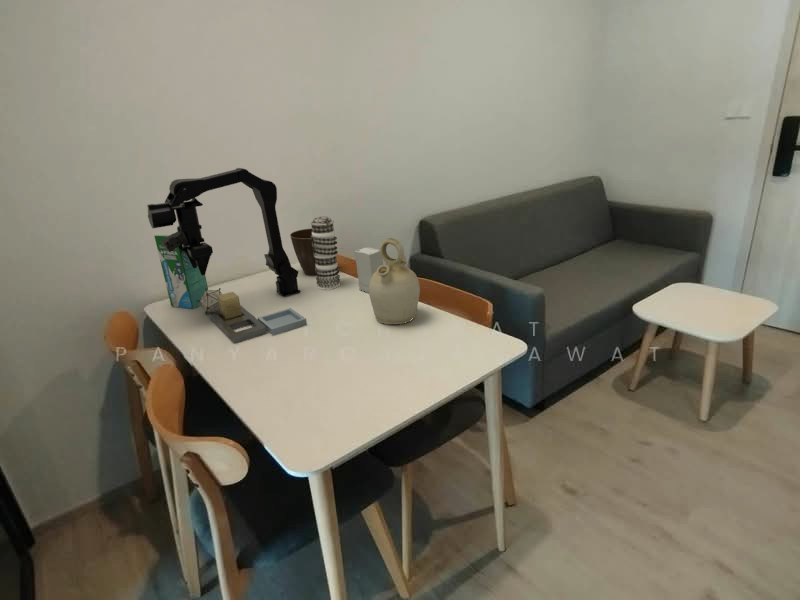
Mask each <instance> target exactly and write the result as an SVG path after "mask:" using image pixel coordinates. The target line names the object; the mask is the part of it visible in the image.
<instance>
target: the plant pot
mask: <svg viewBox="0 0 800 600" xmlns="http://www.w3.org/2000/svg"><path fill="white" fill-rule="evenodd" d="M311 234H312V228H305V229H304V228H303V229H299V230H296V231H293V232H291V233H290V234H289V236H290V240H291V243H292V246H293V250H294V252H295V253H294V254H295V255H296V258H297V261H298V263H299V266H300V268H301V269H302V271H303V273H304V275H307V276H317V275H316V271H315V268H316V260H315V257H314V254H313V253H314V251H312V248H313V247H312V243H313V242H312V241H311V238H312V237H310V235H311ZM313 240H314V239H313ZM314 250H315V249H314Z"/></svg>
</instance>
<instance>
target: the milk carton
mask: <svg viewBox="0 0 800 600" xmlns="http://www.w3.org/2000/svg"><path fill="white" fill-rule="evenodd" d="M176 232H177V231H173V233H176ZM173 233H172V234H173ZM168 236H169V235H168V234H166V235H164V234H163V235H161V234H160V235H159V234H158V235H157V234H156V235H154V240H155V245H156V249H157V253H158V256H159V257H158V258H159V260H160V266H161V269H162V272H163V273H162V274H163V277H164V282H165V286H166V290H167V294H168V298H169V304H170V306H174V307H173V308H179V307H182V308H181V309H188V308H189V309H190V310H193V308H194V309H195V308H197V307H199V306H202V305H201V303H200V302H197V301H198V300H199V301H200V299H201V298H202V296H203V295H204V293H205V291H206V290H205V288H207V290H209V287H208V282H207V277H206V274H205V275H201V273H200V271H199V268H198V266H197V268H193V267H192V265H191V263H190V261H189V259H188V257H187V255H186V253H185V252H184V251H183V250H181V249H180V248H179V247H177V248H176V249H174V250H173V251H171V252H169V251H168V250H167V249H166V248H165V247H164V245H163V244H162V242H161V240H162V239H164V238H166V237H168ZM189 309H188V310H189Z"/></svg>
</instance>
